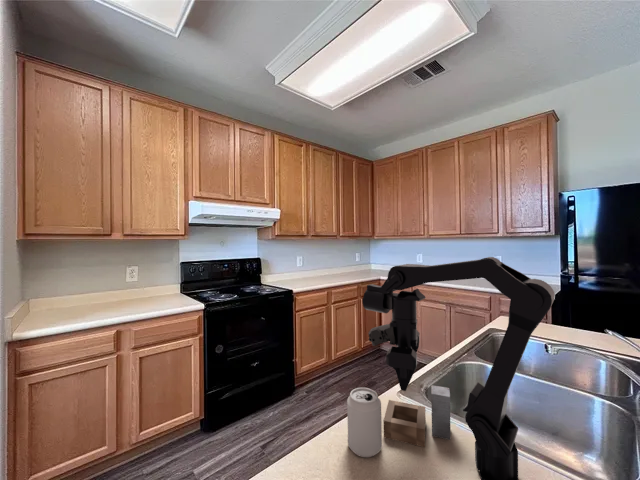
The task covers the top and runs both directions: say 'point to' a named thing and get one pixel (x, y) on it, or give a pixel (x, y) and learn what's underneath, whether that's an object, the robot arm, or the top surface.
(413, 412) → the socket
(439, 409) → the peg
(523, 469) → the top surface
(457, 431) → the top surface
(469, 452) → the top surface
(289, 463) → the top surface
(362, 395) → the can
